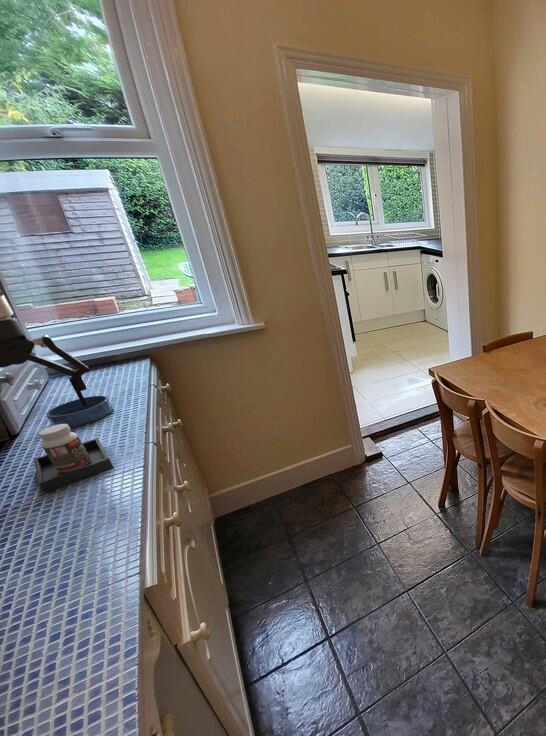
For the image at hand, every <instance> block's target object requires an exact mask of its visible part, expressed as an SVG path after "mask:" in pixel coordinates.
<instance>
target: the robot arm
mask: <svg viewBox="0 0 546 736" xmlns="http://www.w3.org/2000/svg"><path fill="white" fill-rule="evenodd" d="M14 314H15V312H14V310H13V309H12V307H11V305H10V303H9V302H8V300H7V298H6V296H5V295H4V293H3V291H2V289H0V368H1V369H3V368H7V367H10V366H14V365H24V364H25V363H26V362H28V361H29V362H31V363H34V364H39V365H41V366H44V367H46V368H48V369H51V370H54V371H57V372H58V373H61V374H63V375H67V376H69V377H68V380H69V382H70V384H71V386H72V388H73V390H74V392H75V394H76V395H77V397H78V399H80V401H81V403H82V405H83V406H87V403H86V401H85V399H84V398H85V397H84V394H83V393H82V392H83V391H86V390H87V386H86V384H85V382H84V380H83V378H82V376H83V375H84V374H86V373H89V372H90V368H89V366H88V365H86V364H85V363H83V362H82V361H80V360H79V359H78V358H76V357H75V356H73V355H72V354H71V353H69V352H67V351H66V350H65V349H63V348H61V347H60V346H58V345H57V344H55V342H54V341H53V340H52V338H51V337H50V336H49V335H47V334H44V335H42V336H41V337H37V338H34V339H30V338H29V337H27V334H25V331H24V330H23V328H22V325H21V324H20V322H19V320H18V318H15V317H13V315H14ZM35 346H39V347H41V348H45V349H46V348H47V349H49V350H50V351H51V352H52V353H54V354H55V355H57V356H58V357H60V358H61V359H63V360H64V361H66V362H67V363H68V364H70V365H72V366H74V367H75V368H76V369H74V368H71V367H69V366H67V365H64V364H63V363H62V364H61V363H59V362H56V361H54V360H52V359H49V358H47V357H45V356H41V355H40V354H38V353H35V352H33V350H34V348H35Z"/></svg>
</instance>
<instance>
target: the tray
mask: <svg viewBox="0 0 546 736" xmlns="http://www.w3.org/2000/svg"><path fill="white" fill-rule="evenodd" d="M82 444H83V446H84V448H85V449H86V451H87V453H88V454H89V456H90V458H91V461H90V462H89V463H88V464H87V465H85V466H84V467H81V468H78V469H76V470H73V471H70V472H58V471H57V470H56V468H55V466H54V465H53V463H52V461H51V460H50V458H49V457H48V455H47V454H46V455H43V456H39V457H36V458H33V463H34V469H35V473H36V478H37V484H38V485H39V487H40V489H41V490H42V492H43V493H44V494H48V493H51V492H53V491H57V490H58V489H61V488H65V487H67V486H69V485H72V484H75V483H77V482H81V481H83V480H85V479H88V478H91V477H94V476H96V475H98V474H101V473H103V472H106V471H109V470H111V469H115V467H114V465H113V463H112V461H111V459H110V458H109V456H108V454H107V452H106V450H105V449H104V447H103V444H102V443H101V441H100V439H99V437H96V438H94V439H90V440H88V441H85V442H82Z"/></svg>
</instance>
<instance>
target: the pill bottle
mask: <svg viewBox="0 0 546 736" xmlns="http://www.w3.org/2000/svg"><path fill="white" fill-rule="evenodd" d="M38 435H39V437H40V439H41V440H43V441H42V443H41V447H42V449H43V450H44V452H45V453H46V455H48V457H49V458H50V460H51V461H52V463H53V465H54V466H55V468H56V470H57V471H58V472H70V471H73V470H76V469H78V468H81V467H84V466H85V465H87V464H88V463H89V462H90V461H91V458H90V456H89V454H88V453H87V451H86V449H85V448H84V446H83V444H82V443H83V442H82V441H81V438H80V437H79V436H78V434H77V433H75V432H72V431H71V427H69V426H68V424H59V425H54V426H52V425H51V426H49V427H46V428H44V429H42V430H40V431H39V432H38Z"/></svg>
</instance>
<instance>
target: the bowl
mask: <svg viewBox="0 0 546 736" xmlns="http://www.w3.org/2000/svg"><path fill="white" fill-rule="evenodd" d="M84 399H85V401H86V403H87V406H83V405H82V403H81V401H80V399H79V398H77V399H73V400H70V401H66V402H63V403H61V404H59V405H56V406H54V407H52V408H51V409H49V410H48V411H47V412H46V413H45V415H46V418H47V419H48V420H49V423H50V424H51V426H54V425H59V424H68V426H69V427H70V428H74V427H79V426H84V425H87V424H90V423H93V422H95V421H98V420H100V419H102V418H104V417H106V416H108V415H109V414H111V413H112V412H113V410H114V408H113V406H112V404H111V402H110V400H109V398H108V397H107V395H106V396H105V395H91V396H86V397H84Z"/></svg>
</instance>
